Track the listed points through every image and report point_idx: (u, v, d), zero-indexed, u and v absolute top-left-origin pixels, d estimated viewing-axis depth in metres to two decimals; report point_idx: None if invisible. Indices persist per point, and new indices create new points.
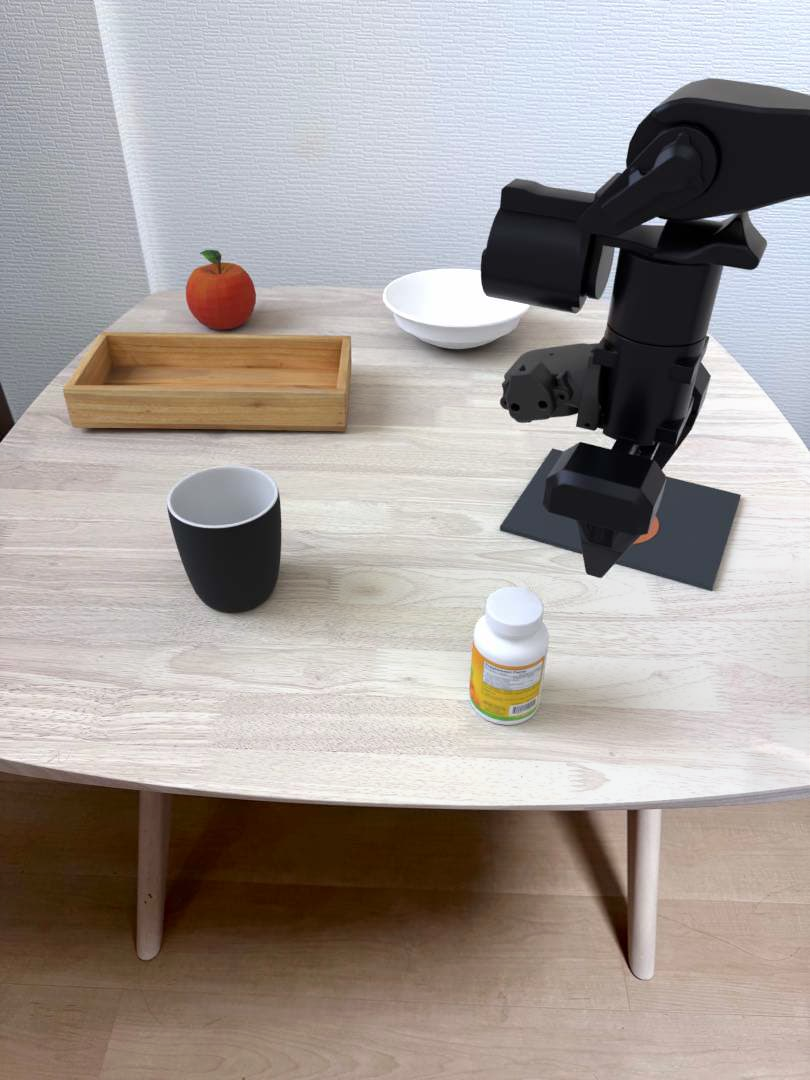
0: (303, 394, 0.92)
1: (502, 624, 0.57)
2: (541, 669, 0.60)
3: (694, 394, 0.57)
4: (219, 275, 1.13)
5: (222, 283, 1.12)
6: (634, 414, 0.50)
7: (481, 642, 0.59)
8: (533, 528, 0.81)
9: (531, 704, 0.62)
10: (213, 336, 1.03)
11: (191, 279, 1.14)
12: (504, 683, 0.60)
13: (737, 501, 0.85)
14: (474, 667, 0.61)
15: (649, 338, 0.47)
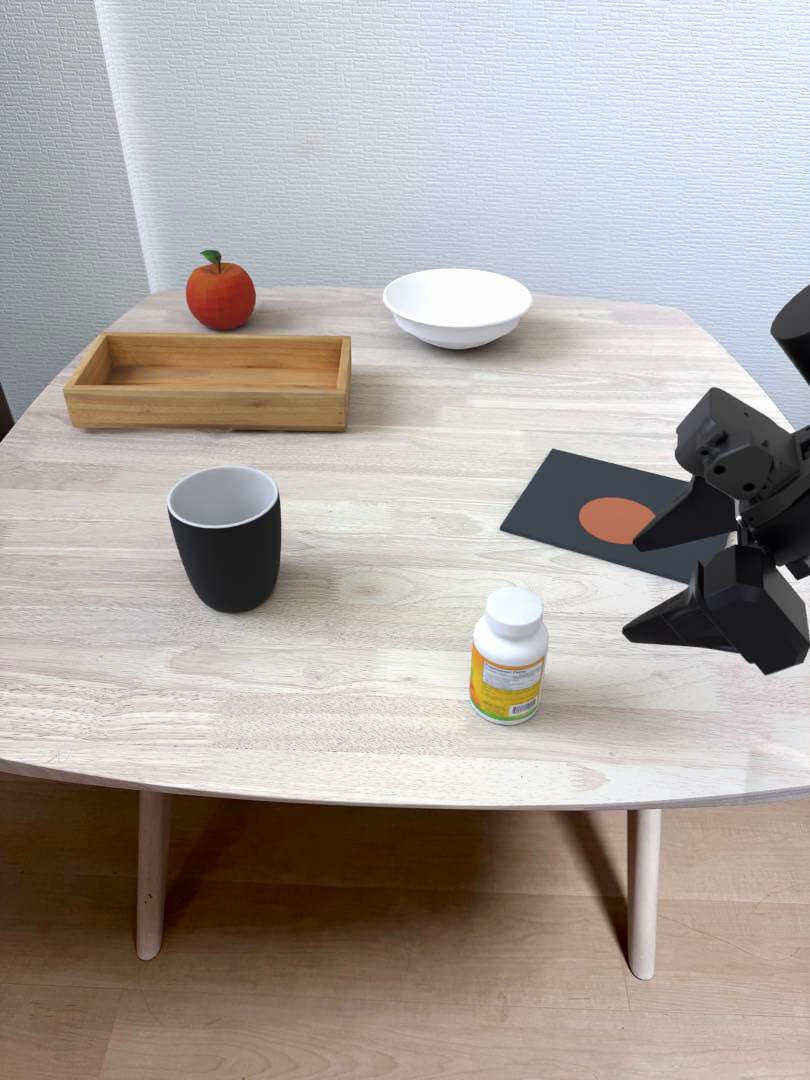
0: (303, 394, 0.92)
1: (502, 624, 0.57)
2: (541, 669, 0.60)
3: None
4: (219, 275, 1.13)
5: (222, 283, 1.12)
6: (801, 540, 0.46)
7: (481, 642, 0.59)
8: (533, 528, 0.81)
9: (531, 704, 0.62)
10: (213, 336, 1.03)
11: (191, 279, 1.14)
12: (503, 683, 0.60)
13: None
14: (474, 667, 0.61)
15: None
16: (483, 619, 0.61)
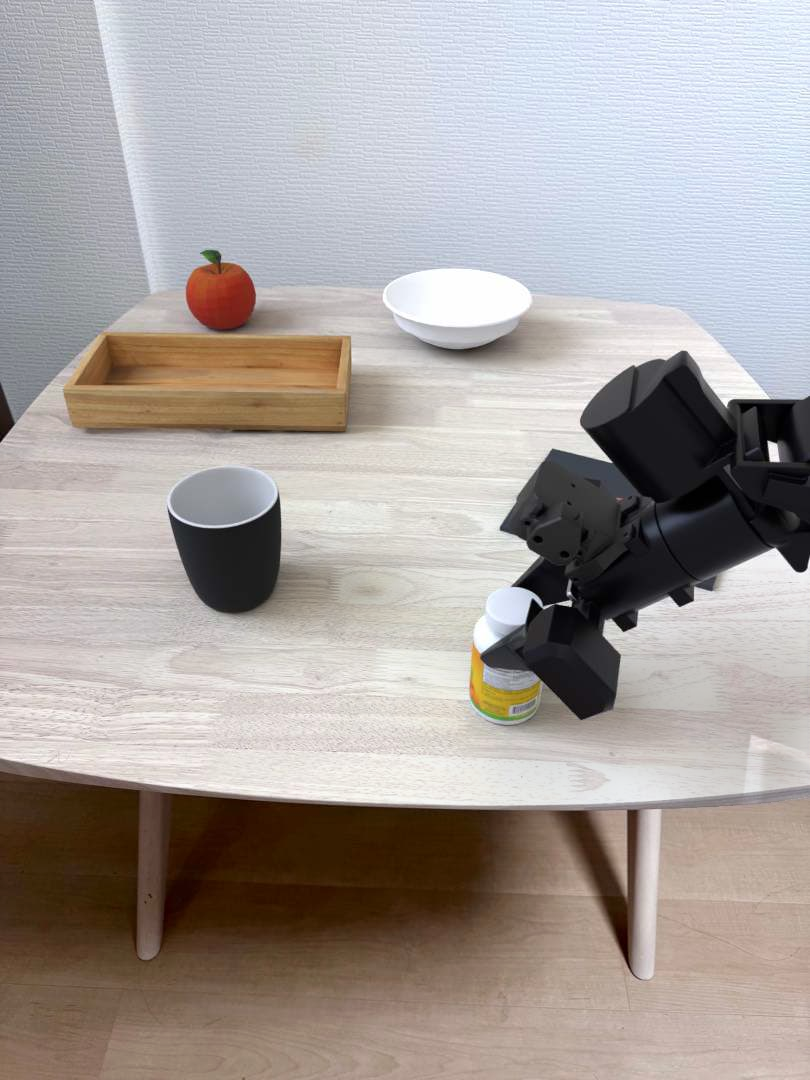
0: (303, 394, 0.92)
1: (502, 624, 0.57)
2: None
3: None
4: (219, 275, 1.13)
5: (222, 283, 1.12)
6: (620, 598, 0.52)
7: (481, 642, 0.59)
8: None
9: (531, 704, 0.62)
10: (213, 336, 1.03)
11: (191, 279, 1.14)
12: (503, 683, 0.60)
13: None
14: (474, 667, 0.61)
15: (689, 565, 0.49)
16: (483, 619, 0.61)
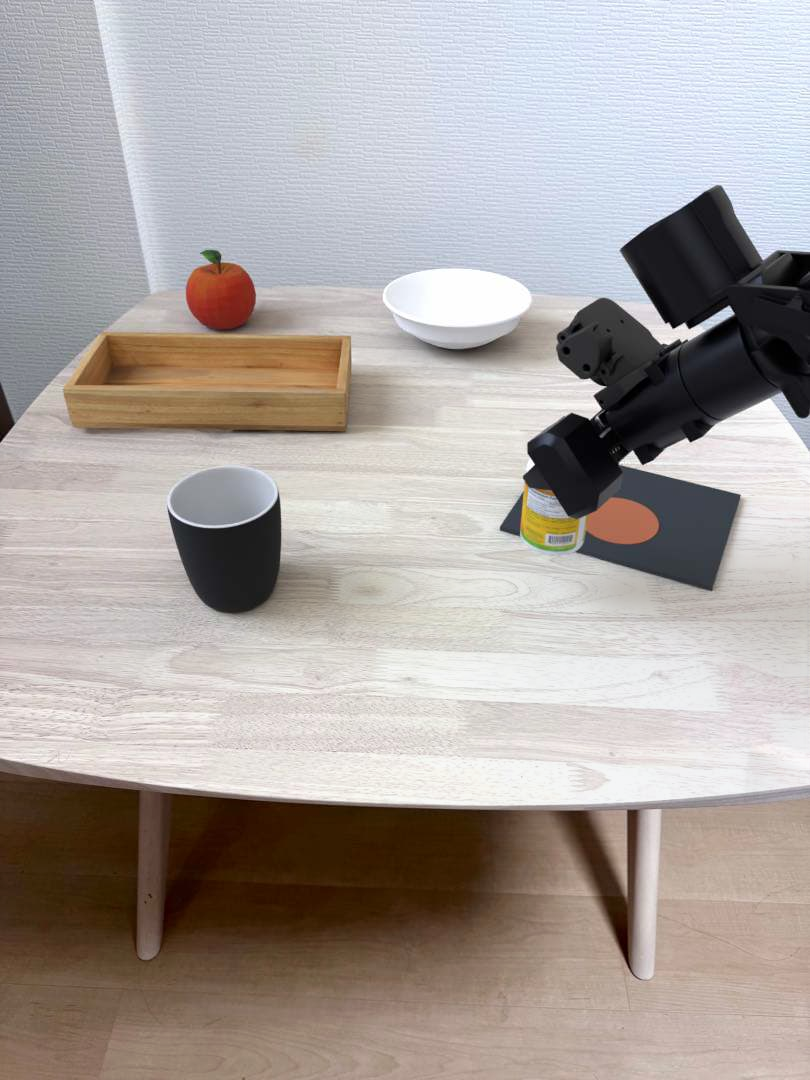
0: (303, 394, 0.92)
1: None
2: None
3: None
4: (219, 275, 1.13)
5: (222, 283, 1.12)
6: (637, 426, 0.57)
7: (529, 466, 0.67)
8: None
9: (567, 539, 0.68)
10: (213, 336, 1.03)
11: (191, 279, 1.14)
12: (541, 508, 0.67)
13: (737, 501, 0.85)
14: None
15: (696, 395, 0.54)
16: None
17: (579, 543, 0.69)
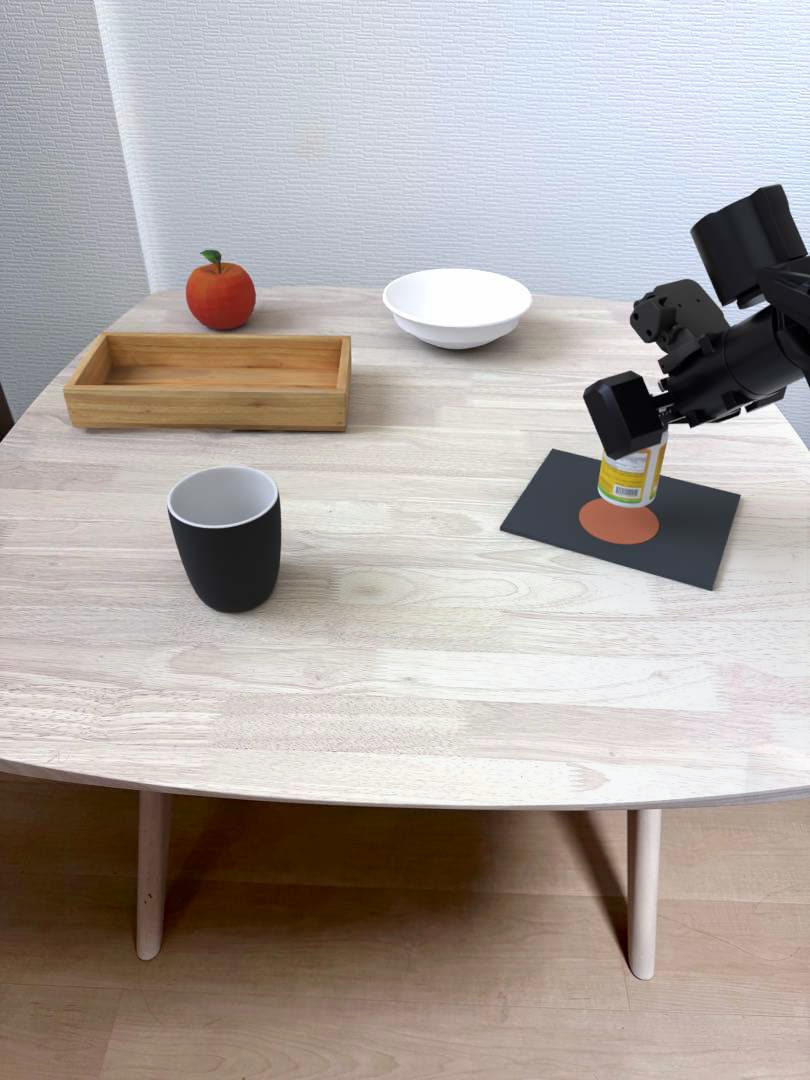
0: (303, 394, 0.92)
1: None
2: (645, 462, 0.75)
3: (754, 402, 0.71)
4: (219, 275, 1.13)
5: (222, 283, 1.12)
6: (688, 391, 0.66)
7: None
8: (533, 528, 0.81)
9: (632, 493, 0.77)
10: (213, 336, 1.03)
11: (191, 279, 1.14)
12: (612, 460, 0.76)
13: (737, 501, 0.85)
14: None
15: (732, 367, 0.61)
16: None
17: (645, 500, 0.78)
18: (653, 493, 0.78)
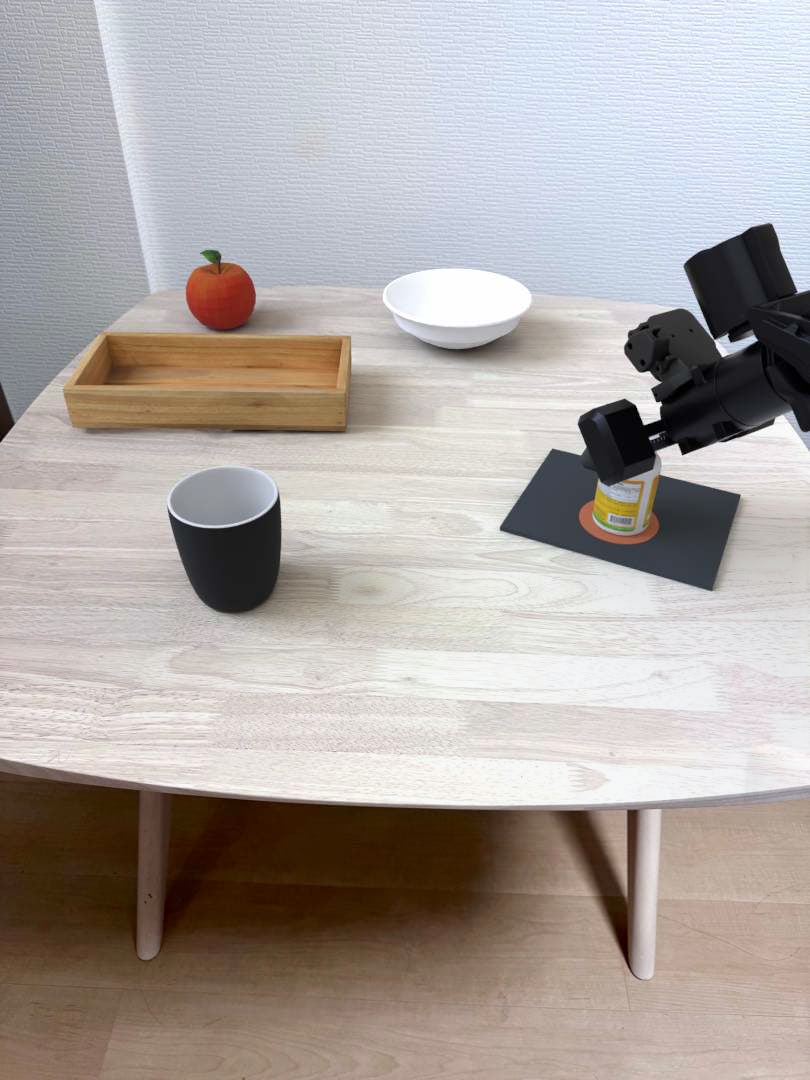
0: (303, 394, 0.92)
1: None
2: (639, 493, 0.77)
3: None
4: (219, 275, 1.13)
5: (222, 283, 1.12)
6: (680, 419, 0.67)
7: None
8: (533, 528, 0.81)
9: (626, 521, 0.79)
10: (213, 336, 1.03)
11: (191, 279, 1.14)
12: (607, 489, 0.78)
13: (737, 501, 0.85)
14: None
15: (723, 399, 0.63)
16: None
17: (639, 528, 0.80)
18: (646, 521, 0.80)
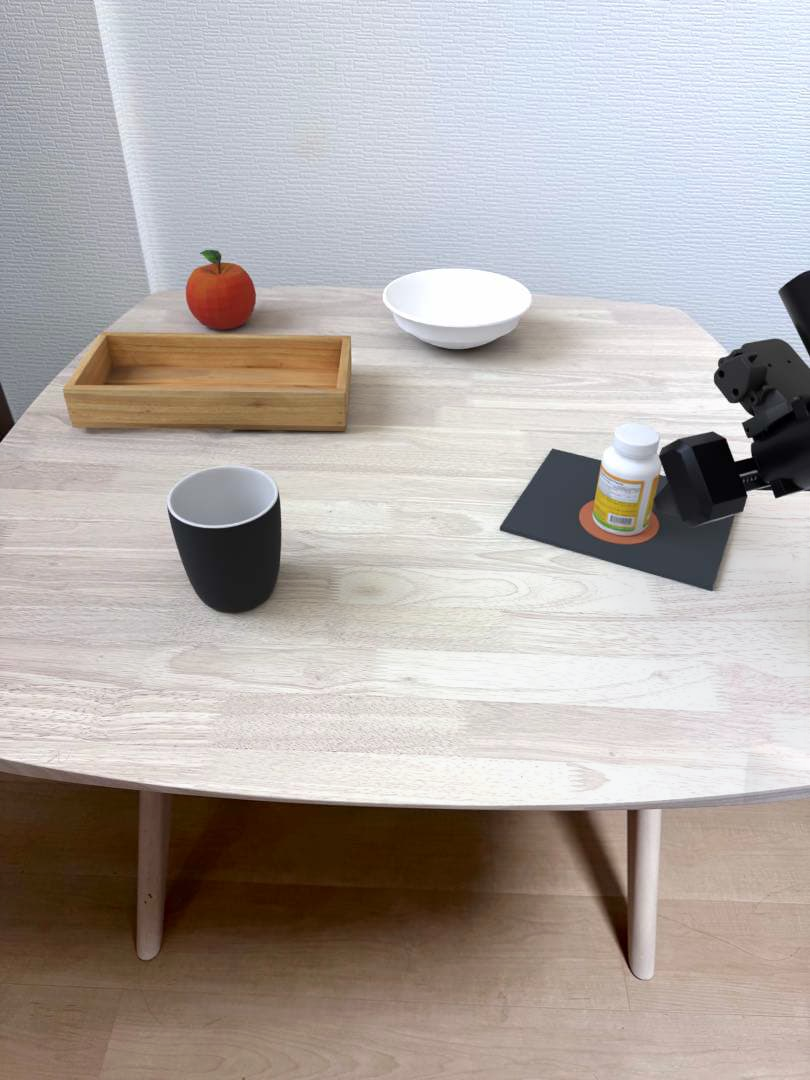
0: (303, 394, 0.92)
1: (617, 438, 0.76)
2: (639, 493, 0.77)
3: None
4: (219, 275, 1.13)
5: (222, 283, 1.12)
6: (775, 457, 0.60)
7: (604, 453, 0.78)
8: (533, 528, 0.81)
9: (626, 521, 0.79)
10: (213, 336, 1.03)
11: (191, 279, 1.14)
12: (607, 489, 0.78)
13: None
14: None
15: None
16: None
17: (639, 528, 0.80)
18: (646, 521, 0.80)
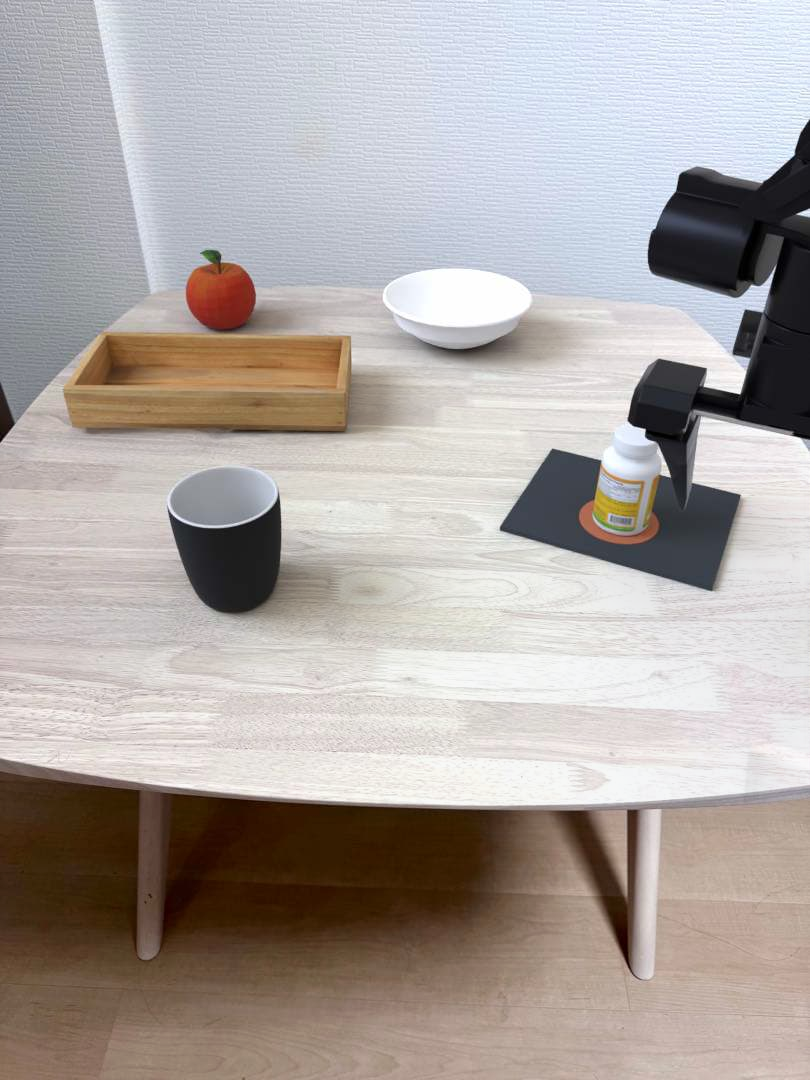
0: (303, 394, 0.92)
1: (617, 438, 0.76)
2: (639, 493, 0.77)
3: None
4: (219, 275, 1.13)
5: (222, 283, 1.12)
6: (745, 375, 0.55)
7: (604, 453, 0.78)
8: (533, 528, 0.81)
9: (626, 521, 0.79)
10: (213, 336, 1.03)
11: (191, 279, 1.14)
12: (607, 489, 0.78)
13: (737, 501, 0.85)
14: None
15: (798, 325, 0.49)
16: None
17: (639, 528, 0.80)
18: (646, 521, 0.80)
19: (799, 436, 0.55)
